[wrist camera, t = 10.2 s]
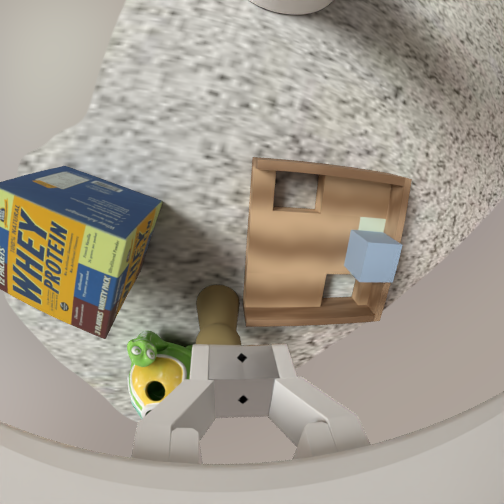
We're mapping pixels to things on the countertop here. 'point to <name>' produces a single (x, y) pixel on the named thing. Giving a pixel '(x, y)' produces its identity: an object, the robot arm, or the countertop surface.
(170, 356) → the turtle holder
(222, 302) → the cork
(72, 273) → the protein box
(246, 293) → the tray
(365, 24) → the countertop surface
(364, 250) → the slate block
